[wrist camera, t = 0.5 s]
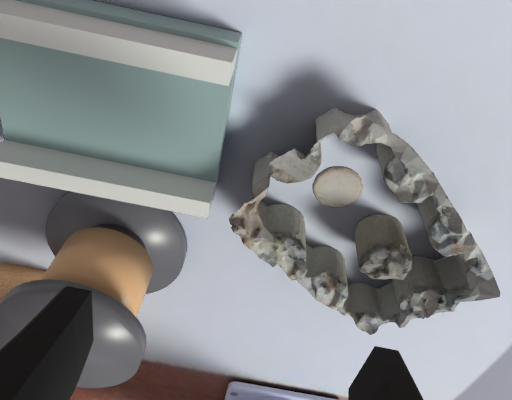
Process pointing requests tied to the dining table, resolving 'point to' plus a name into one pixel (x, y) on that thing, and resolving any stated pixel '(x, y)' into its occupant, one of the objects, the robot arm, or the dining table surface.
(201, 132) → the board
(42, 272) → the wooden block
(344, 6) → the dining table surface
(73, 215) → the spool
